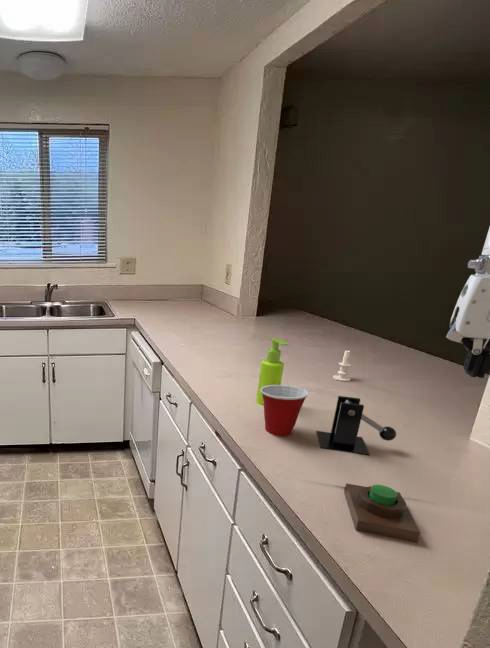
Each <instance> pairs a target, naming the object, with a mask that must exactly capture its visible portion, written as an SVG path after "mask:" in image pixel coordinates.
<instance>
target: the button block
mask: <svg viewBox="0 0 490 648" xmlns="http://www.w3.org/2000/svg"><path fill="white" fill-rule="evenodd" d="M371 486H372V485H371ZM371 486H364V485H357V484H352V483H347V482H346V483H345V487H344V491H343V493H344V494H343V495H344V497H345V498H344V499H345V500H346V504H347V507H348V510H349V514H350V517H351V520H352V524H353V526H354V530H355V532H360V533H361V532H362V533H366V534H371V535H376V536H380V537H386V538H390V539H396V540H401V541H406V542H410V543H415V544H418V541H419V538H420V536H421V531H420V529H419V526H418V525H417V523H416V521H415V519H414V517H413V515H412V514H411V511H410V509H409V508H408V507H409V506H407V503H406V500H405V499H404V498H403V496H402V494H401V492H398V491H396V492H397V494H398V496H397V499H396V503H395V504H394V505H384V504H380V503H378V502H376V501H373V500H372V499H371V498H370V497H369V493H370V489H371Z"/></svg>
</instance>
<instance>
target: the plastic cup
mask: <svg viewBox="0 0 490 648" xmlns="http://www.w3.org/2000/svg"><path fill="white" fill-rule="evenodd" d="M260 392H261V393H262V397H263V401H264V406H263V415H264V416H263V417H264V418H263V419H264V426H265V428H264V429H265V431H266V432H267V433H269V434H270V435H273V436H276V437H288V436H290V435H292V433H293V430H294V428H295V426H296V423H297V420H298V417H299V415H300V412H301V410H302V407H303V404H304V402H305V400H306V398H307V397H308V396H309V392H308V391H307V390H306V389H304V388H302V387H298V386H294V385H287V384H281V385H269V386H264V387H262V388H261V389H260Z"/></svg>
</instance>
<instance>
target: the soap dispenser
mask: <svg viewBox="0 0 490 648" xmlns="http://www.w3.org/2000/svg"><path fill="white" fill-rule="evenodd" d="M269 341H270V342H272V343H271V348H269V349H267V354H266V359H263V360H261V361H260V362H261V363H260V368H259V369H260V370H259V377H258V384H257V385H258V386H257V392H256V398H255V403H257V404H258V405H261V406H263V407H264V401H263V397H262V393H261V392H260V389H261V388H262V387H264V386H269V385H282V378H283V372H284V366H285V363H284V362H282V361H281V354H282V351H281V349H279V345H280V346H288V345H289V343H288V342H287V341H286V340H284V339H282V338H277V337H272V338H269Z"/></svg>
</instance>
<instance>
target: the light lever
mask: <svg viewBox="0 0 490 648" xmlns="http://www.w3.org/2000/svg"><path fill="white" fill-rule="evenodd" d="M344 403H352V402H351V401H349V400H348V399H347V400H346V401H345V402H344ZM353 404H354V403H353ZM361 421H363V422H365V423H366V424H367V425H369V426H371V427H372V428H374V429H375V430H377V431H378V434H379V437H380V438H381V439H382V440H384V441H389V442H390V441H393V440H395V438H396V437H397V431H396V429H394V428H393V427H392V426H382V425H380V424H379V423H378V422H376V421H375V420H373V419H371V418H370V417H368V416H367V415H365V414H364V413H362V417H361Z"/></svg>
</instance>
